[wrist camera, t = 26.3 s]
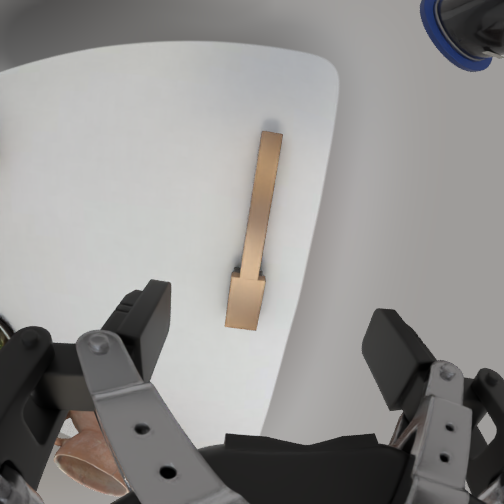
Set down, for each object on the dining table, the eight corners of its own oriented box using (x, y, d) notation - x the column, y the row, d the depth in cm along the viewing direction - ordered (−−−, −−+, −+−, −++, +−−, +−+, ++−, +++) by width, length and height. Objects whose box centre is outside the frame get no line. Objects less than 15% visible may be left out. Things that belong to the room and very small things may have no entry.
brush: (253, 131, 27) (253, 129, 24) (287, 137, 27) (292, 135, 24) (226, 312, 34) (224, 327, 31) (255, 316, 34) (256, 331, 31)
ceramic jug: (171, 415, 40) (154, 489, 27) (150, 450, 44) (135, 509, 31) (69, 365, 37) (29, 428, 24) (65, 409, 41) (37, 462, 28)
